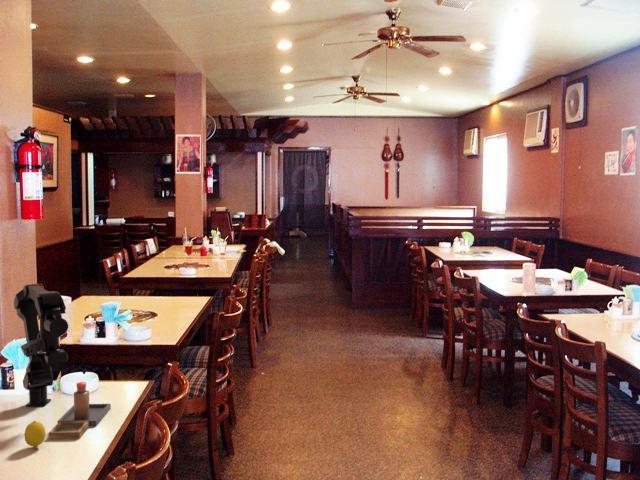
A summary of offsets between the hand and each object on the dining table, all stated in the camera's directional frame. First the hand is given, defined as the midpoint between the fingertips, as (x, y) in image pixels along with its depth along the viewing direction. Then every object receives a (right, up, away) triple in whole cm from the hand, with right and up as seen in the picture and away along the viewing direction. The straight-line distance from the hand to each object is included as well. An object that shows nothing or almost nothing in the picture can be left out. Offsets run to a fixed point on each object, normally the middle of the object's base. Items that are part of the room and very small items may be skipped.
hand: (50, 377), depth 206 cm
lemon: (+6, -15, -25) cm, 30 cm away
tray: (+12, -13, 0) cm, 17 cm away
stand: (+12, -14, -14) cm, 23 cm away
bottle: (+12, -13, -3) cm, 17 cm away
